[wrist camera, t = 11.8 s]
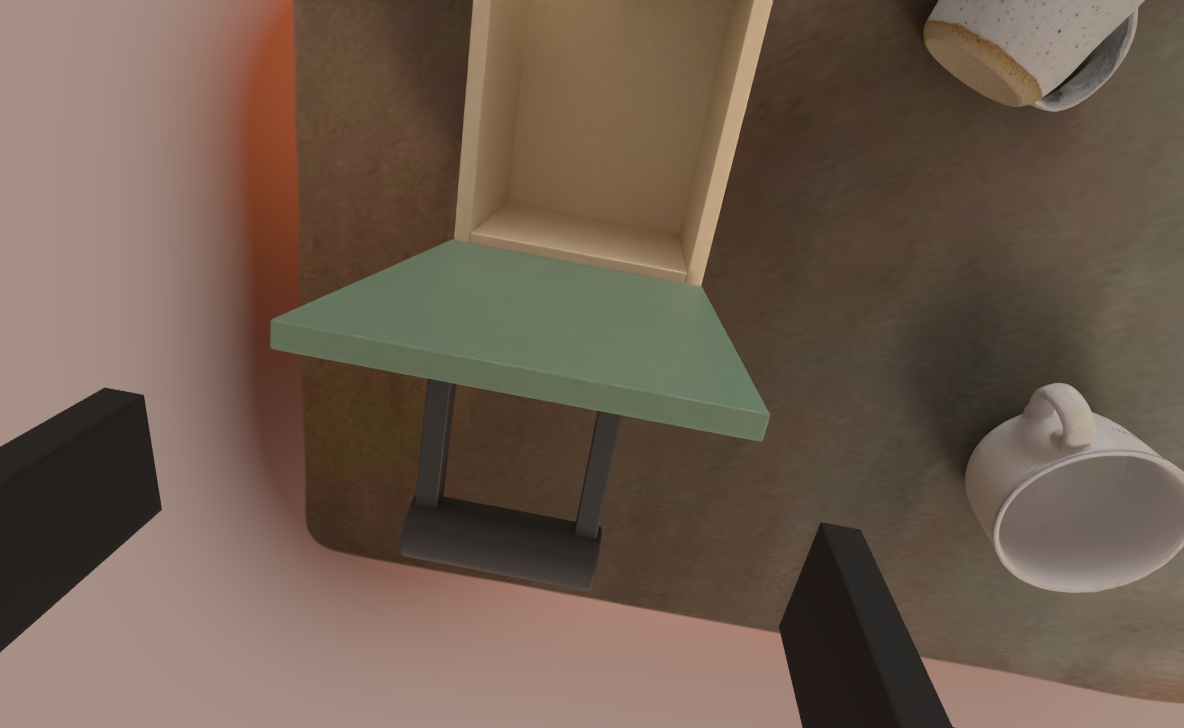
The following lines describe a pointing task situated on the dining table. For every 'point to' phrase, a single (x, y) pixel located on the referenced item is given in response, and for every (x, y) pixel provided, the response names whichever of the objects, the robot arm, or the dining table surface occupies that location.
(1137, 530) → the teacup
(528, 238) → the tan storage tray
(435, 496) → the lid
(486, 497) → the dining table surface
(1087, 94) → the ceramic mug
